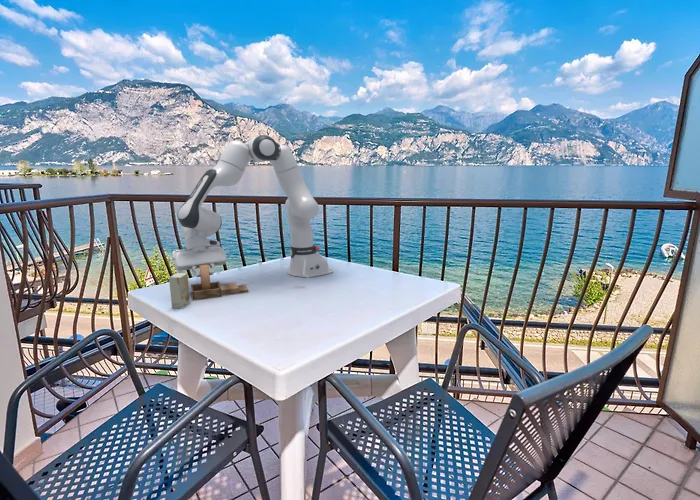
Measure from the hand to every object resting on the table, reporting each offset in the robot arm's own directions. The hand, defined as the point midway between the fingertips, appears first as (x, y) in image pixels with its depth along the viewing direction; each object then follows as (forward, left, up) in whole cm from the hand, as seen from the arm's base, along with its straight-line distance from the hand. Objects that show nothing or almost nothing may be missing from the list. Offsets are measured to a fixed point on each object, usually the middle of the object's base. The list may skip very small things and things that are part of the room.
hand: (205, 275), depth 144 cm
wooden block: (0, -1, -6) cm, 6 cm away
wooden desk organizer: (-5, -1, -9) cm, 10 cm away
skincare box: (+10, +8, -9) cm, 15 cm away
